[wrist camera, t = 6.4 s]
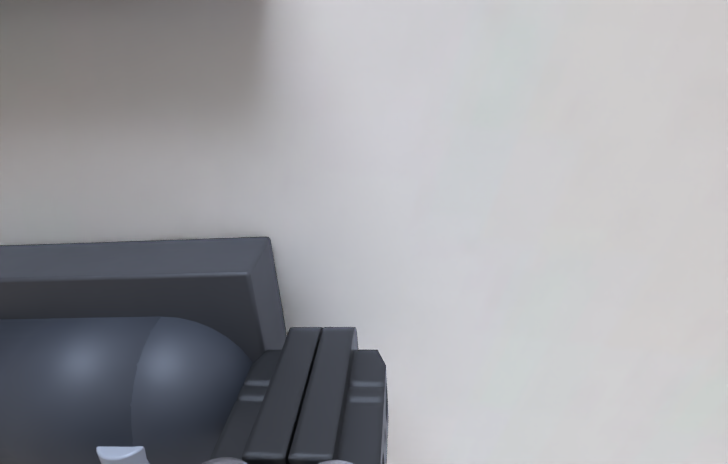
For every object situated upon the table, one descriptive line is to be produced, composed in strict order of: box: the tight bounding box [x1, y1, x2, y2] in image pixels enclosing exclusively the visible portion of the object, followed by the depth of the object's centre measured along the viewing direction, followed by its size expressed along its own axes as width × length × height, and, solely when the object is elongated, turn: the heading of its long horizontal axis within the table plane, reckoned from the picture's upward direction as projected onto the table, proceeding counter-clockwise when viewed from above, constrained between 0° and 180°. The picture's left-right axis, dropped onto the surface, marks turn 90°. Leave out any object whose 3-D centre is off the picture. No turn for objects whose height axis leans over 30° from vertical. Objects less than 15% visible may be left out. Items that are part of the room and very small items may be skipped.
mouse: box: [0, 237, 287, 464], centre depth 11 cm, size 8×6×4 cm
